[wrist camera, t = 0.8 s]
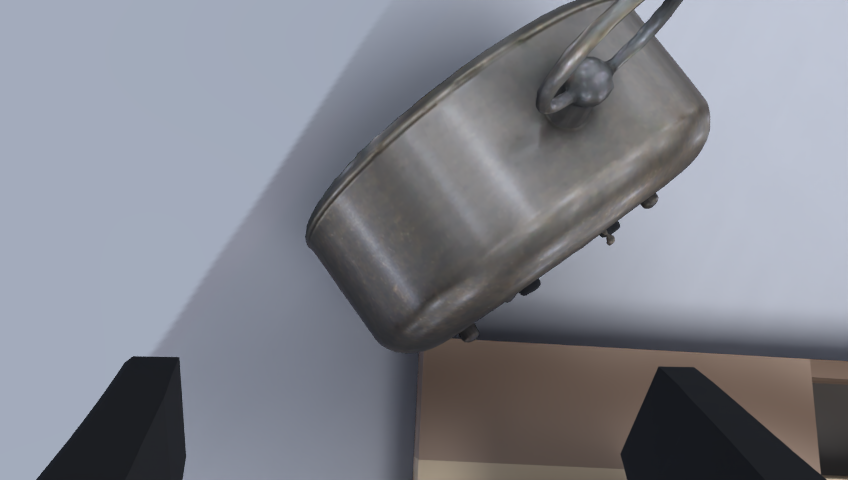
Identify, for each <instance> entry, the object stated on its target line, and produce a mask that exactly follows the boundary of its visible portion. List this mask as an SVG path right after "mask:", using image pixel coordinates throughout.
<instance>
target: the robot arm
mask: <svg viewBox="0 0 848 480" xmlns="http://www.w3.org/2000/svg"><path fill="white" fill-rule="evenodd" d="M620 455H621V459H622V462H623V466H624V470H625V474H626V477H627V480H827V479H825V478H824V477H823V476H822V475H821V474H819V473H818V472H817V471H816V470H815V469H813V468H812V467H811V466H810V465H809V464H808V463H806V462H805V461H804V460H803V459H802V458H801V457H799V456H798V455H797V454H796V453H795V452H793V451H792V450H791V449H790V448H789V447H788V446H786V445H785V444H784V443H783V442H782V441H781V440H780V439H778V438H777V437H776V436H775V435H774V434H773V433H771V432H770V431H769V430H768V429H767V428H766V427H765V426H763V425H762V424H761V423H760V422H759V421H758V420H757V419H755V418H754V417H753V416H752V415H751V414H750V413H748V412H747V411H746V410H745V409H744V408H743V407H742V406H740V405H739V404H738V403H737V402H736V401H735V400H733V399H732V398H731V397H730V396H729V395H728V394H726V393H725V392H724V391H723V390H722V389H721V388H719V387H718V386H717V385H716V384H715V383H713V382H712V381H711V380H710V379H709V378H707V377H706V376H705V375H703V374H702V373H701V372H700V371H698V370H697V369H696V368H695V367H663V366H658V369H657V371H656V373H655V376H654V378H653V380H652V382H651V385H650V387H649V389H648V392H647V394H646V396H645V398H644V401H643V403H642V405H641V408H640V410H639V412H638V414H637V417H636V419H635V421H634V424H633V426H632V428H631V430H630V433H629V435H628V437H627V440H626V442H625V444H624V446H623V449H622V451H621V453H620ZM185 459H186V451H185V436H184V421H183V406H182V391H181V376H180V361H179V357H135V356H133V357H132V358H131V359H129V360H128V361H126V362H125V363H124V365H123V366H122V368H121V369H120V371H119V372H118V374H117V375H116V376H115V378H114V380H113V381H112V382H111V384H110V385H109V387H108V388H107V389H106V391H105V392H104V394H103V395H102V396H101V398H100V399H99V401H98V402H97V403H96V405H95V406H94V407H93V409H92V410H91V411H90V413H89V414H88V415H87V417H86V418H85V419H84V421H83V422H82V423H81V425H80V426H79V427H78V429H77V430H76V431H75V432H74V434H73V435H72V436H71V438H70V439H69V440H68V441H67V443H66V444H65V445H64V447H63V448H62V449H61V450H60V451H59V453H58V454H57V455H56V456H55V457H54V459H53V460H52V461H51V462H50V464H49V465H48V466H47V467H46V468H45V470H44V471H43V472H42V473H41V475H40V476H39V477H38V478H37V479H36V480H182V479H183V472H184V466H185Z"/></svg>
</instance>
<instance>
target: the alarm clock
mask: <svg viewBox="0 0 848 480" xmlns="http://www.w3.org/2000/svg"><path fill="white" fill-rule="evenodd" d="M643 1H645V0H576V1H573V2H570V3H567V4H565V5H562V6H560V7H558V8H556V9H555V10H553V11H551V12H549V13H547V14H544V15H542V16H540V17H539V18H537V19H536V20H534V21H532V22H531V23H529V24H527V25H525V26H524V27H522V28H520V29H519V30H517V31H516V32H514V33H512V34H511V35H509V36H507V37H506V38H504V39H503V40H501V41H500V42H498V43H497V44H495V45H494V46H492V47H491V48H489V49H487V50H486V51H484V52H483V53H482V54H480V55H479V56H477V57H476V58H474V59H473V60H471V61H470V62H469V63H467V64H466V65H464V66H463V67H461V68H460V69H459V70H458V71H456V72H455V73H454V74H453V75H451V76H450V77H449V78H447V79H446V80H445V81H443V82H442V83H441V84H440V85H438V86H437V87H436V88H434V89H433V90H432V91H430V92H429V93H428V94H426V95H425V96H424V97H423V98H421V99H420V100H419V101H418V102H416V103H415V104H414V105H413V106H412V107H411V108H410V109H409V110H407V111H406V112H405V113H404V114H402V115H401V116H400V117H399V118H397V119H396V120H395V121H394V122H393V123H392V124H391V125H389V126H388V127H387V128H386V129H385V130H384V131H383V132H382V133H380V134H379V135H378V136H376V137H375V138H374V139H373V140H372V141H371V142H370V143H369V144H368V145H367V146H366V147H365V148H364V149H363V150H362V151H360V152H359V153H358V154H357V156H356V157H355V159H354V160H353V161H352V162H350V163H349V164H348V166H347V167H346V168H345V170H344V171H343V172H342V173H341V174H340V175H339V176H338V177H337V178H336V179H335V180H334V182H333V183H332V184H331V186H330V187H329V188H328V190H327V191H326V192H325V194H324V195H323V197H322V198H321V200H320V201H319V202H318V204H317V206H316V207H315V209H314V211H313V213H312V215H311V217H310V219H309V221H308V224H307V230H306V236H305V238H306V243H307V245H308V247H309V248H310V249H312V250H313V251H314V253H315V254H316V255H317V257H318V258H319V259H320V261H321V262H322V264H323V265H324V266H325V268H326V269H327V271H328V272H329V274H330V275H331V277H332V278H333V279H334V281H335V282H336V284H337V285H338V287H339V288H340V290H341V291H342V292H343V294H344V295H345V297H346V298H347V299H348V301H349V302H350V304H351V305H352V306H353V308H354V309H355V311H356V312H357V313H358V315H359V316H360V318H361V319H362V321H363V322H364V323H365V325H366V326H367V328H368V329H369V331H370V332H371V333H372V335H373V336H374V338H375V339H376V340H377V341H378V342H379V343H380V344H381V345H382V346H384V347H385V348H387V349H390V350H392V351H395V352H401V353H418V352H423V351H427V350H430V349H432V348H435V347H437V346H439V345H441V344H443V343H444V342H446V341H447V340H449V339H451V338H452V337H454V336H455V335H457V334H459V335H460V337H461V339H462V341H464V342H467V343H469V342H472V341H474V340H475V339H476V338H477V337H478V336H479V331H478V329H477V328H476V326H475V322H476V321H478V320H479V319H481V318H482V317H483V316H485V315H486V314H488V313H489V312H491V311H492V310H494V309H495V308H497V307H498V306H500V305H501V304H503V303H504V302H507V303H508V302H510V301H511V300H512V299H513V298H514V297H515V296H516V294H517V293H518V292H519V293H520V294H521V295H523V296H525V295H527V294H529V293H531V292H533V291H535V290H536V289H537V288H538V287H539V286H540V285H541V283H540V280H539V278H540V277H541V276H542V275H544V274H545V273H547V272H548V271H549V270H551V269H552V268H554V267H555V266H557V265H558V264H560V263H561V262H562V261H564V260H565V259H566V258H568V257H569V256H570V255H572V254H573V253H575V252H576V251H578V250H580V249H581V248H583V247H584V246H585V245H587V244H588V243H589V242H591V241H592V240H593V239H594V238H596V237H597V236H598V235H600V236H601V237H607V244H608V245H609V246H610V245H611V244H613V243H614V241H615V238H614V236H612V235H611V234H612V233H614V232H615V231H616V230H618V229H619V228H620V224H619V222H618V220H619V219H621V218H622V217H623V216H625V215H626V214H627V213H629V212H630V211H631V210H633V209H634V208H635V207H637V206H638V205H640V204H641V206H642V207H643V208H646V209H649V208H651V207H653V206H654V205H655V204H656V203H657V201H658V196H657V194H656V192H657V191H659V190H660V189H661V188H663V187H664V186H665V185H667V184H668V183H669V182H670V181H671V180H672V179H674V178H675V177H676V176H677V175H679V174H680V173H681V172H682V171H683V170H685V169H686V168H687V167H688V166H689V165H690V164H691V163H692V162H693V161H694V159H695V158H696V157H697V156H698V154H699V153H700V151H701V150H702V148H703V146H704V144H705V142H706V140H707V138H708V134H709V131H710V112H709V107H708V104H707V102H706V100H705V98H704V97H703V96H702V95H701V93H700V92H699V91H698V89H697V88H696V87H695V86H694V84H693V83H692V82H691V80H690V79H689V78H688V77H687V75H686V74H685V73H684V72H683V70H682V69H681V68H680V67H679V65H678V64H677V63H676V62H675V60H674V59H673V58H672V57H671V56H670V54H669V53H668V52H667V51H666V49H665V48H664V47H663V46H662V44H661V43H660V42H659V41H658V40H657V38H656V37H655V34H656V33H657V32H658V31H659V30H660V29H661V28H662V26H663V25H664V24H665V23H666V22H667V21H668V19H669V18H670V17H671V16H672V14H673V13H674V12H675V10H676V9H677V8H678V6H679V5H680V4H681V2H682V1H683V0H665V1H664V2H663V4H662V5H661V6H660V7H659V8H658V9H657V10H656V11H655V12H654V14H653V15H652V16H651V18H650V19H649V20H648V21H647V22H646V23H644V22H643V21H642V20H641V18H640V17H639V16H638V14H637V13H636V12H635V11H634V9H635V8H636V7H637V6H639V5H640V4H641V3H642V2H643Z"/></svg>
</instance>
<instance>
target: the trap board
mask: <svg viewBox="0 0 848 480" xmlns="http://www.w3.org/2000/svg"><path fill="white" fill-rule="evenodd" d="M658 366H663V367H695V368H696V369H697V370H698V371H700V372H701V373H702V374H703V375H705V376H706V377H707V378H709V379H710V380H711V381H712V382H713V383H715V384H716V385H717V386H718V387H719V388H721V389H722V390H723V391H724V392H725V393H726V394H728V395H729V396H730V397H731V398H732V399H733V400H735V401H736V402H737V403H738V404H739V405H740V406H742V407H743V408H744V409H745V410H746V411H747V412H748V413H750V414H751V415H752V416H753V417H754V418H755V419H757V420H758V421H759V422H760V423H761V424H762V425H763V426H765V427H766V428H767V429H768V430H769V431H770V432H771V433H773V434H774V435H775V436H776V437H777V438H778V439H780V440H781V441H782V442H783V443H784V444H785V445H786V446H788V447H789V448H790V449H791V450H792V451H793V452H795V453H796V454H797V455H798V456H799V457H801V458H802V459H803V460H804V461H805V462H806V463H808V464H809V465H810V466H811V467H812V468H813V469H815V470H816V471H817V472H818V473H819V474H821V475H822V476H823V477H824V478H825V479H827V480H848V361H836V360H819V359H801V358H784V357H766V356H749V355H732V354H714V353H697V352H680V351H662V350H645V349H627V348H610V347H593V346H575V345H558V344H540V343H523V342H506V341H488V340H474V341H472V342H469V343H467V342H464V341H462V339H454V338H451V339H449V340H447V341H446V342H444V343H443V344H441V345H439V346H437V347H435V348H432V349H430V350H427V351H423V352H419V358H418V379H417V399H416V419H415V439H414V460H413V480H627V477H626V474H625V470H624V466H623V462H622V459H621V455H620V453H621V451H622V449H623V446H624V444H625V442H626V440H627V437H628V435H629V433H630V430H631V428H632V426H633V424H634V421H635V419H636V417H637V414H638V412H639V410H640V408H641V405H642V403H643V401H644V398H645V396H646V394H647V392H648V389H649V387H650V385H651V382H652V380H653V378H654V376H655V373H656V371H657V369H658Z"/></svg>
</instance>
